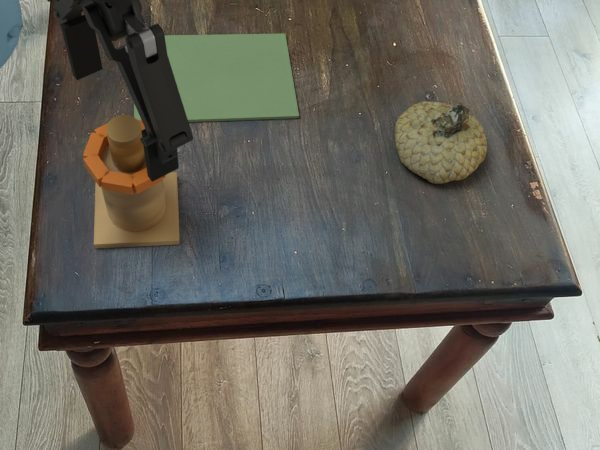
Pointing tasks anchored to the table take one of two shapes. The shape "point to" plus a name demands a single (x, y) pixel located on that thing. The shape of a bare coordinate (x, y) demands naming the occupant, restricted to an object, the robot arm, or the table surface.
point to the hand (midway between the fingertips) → (124, 120)
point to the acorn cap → (440, 141)
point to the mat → (232, 76)
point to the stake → (134, 196)
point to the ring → (110, 178)
